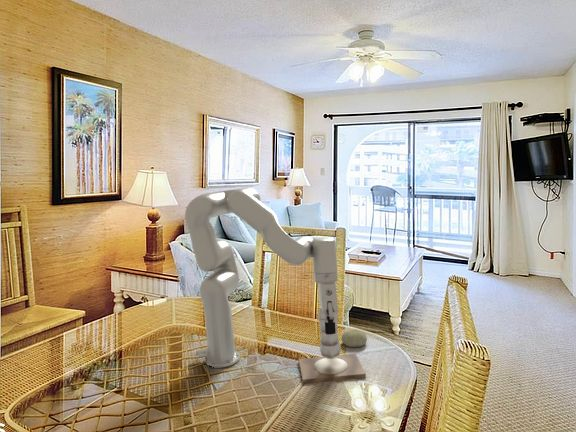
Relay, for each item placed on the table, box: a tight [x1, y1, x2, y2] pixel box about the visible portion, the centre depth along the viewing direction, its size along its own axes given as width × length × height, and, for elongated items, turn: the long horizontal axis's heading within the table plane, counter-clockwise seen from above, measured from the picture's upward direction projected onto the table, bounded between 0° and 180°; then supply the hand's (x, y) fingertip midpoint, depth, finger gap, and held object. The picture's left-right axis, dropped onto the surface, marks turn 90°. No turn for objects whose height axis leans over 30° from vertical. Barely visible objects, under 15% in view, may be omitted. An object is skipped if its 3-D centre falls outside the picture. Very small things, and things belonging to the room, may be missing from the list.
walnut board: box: [298, 353, 367, 384], centre depth 139 cm, size 20×14×1 cm
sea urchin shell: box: [341, 328, 368, 348], centre depth 157 cm, size 9×8×8 cm
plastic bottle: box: [317, 307, 341, 359], centre depth 137 cm, size 6×7×20 cm
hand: (328, 329), depth 137 cm, fingers closed on plastic bottle, 6 cm apart
